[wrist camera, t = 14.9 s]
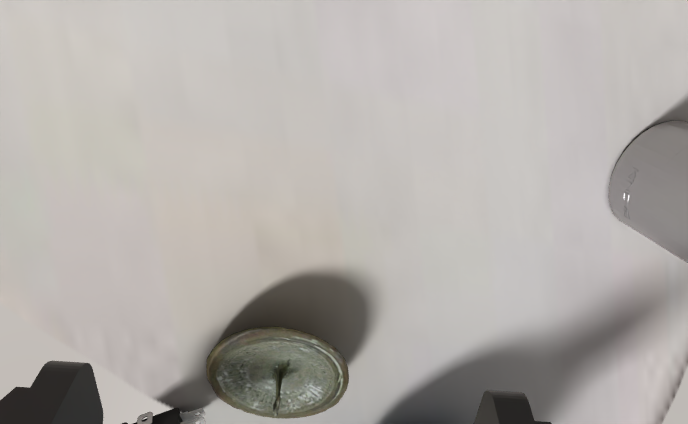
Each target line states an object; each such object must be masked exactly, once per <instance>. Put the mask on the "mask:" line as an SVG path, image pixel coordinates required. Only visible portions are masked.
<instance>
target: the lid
mask: <svg viewBox="0 0 688 424" xmlns="http://www.w3.org/2000/svg"><path fill="white" fill-rule="evenodd" d="M206 368H207V377H208V380H209V382H210V383H211V385H212V387H213V390H214V391H215V393H216V394H217V396H218V397H219V398H220V399H221V400H223V401H224V402H226V403H227V404H229V405H231V406H232V407H234V408H237V409H241V410H243V411H244V412H247V413H252V414H255V415H258V416H263V417H271V418H300V417H307V416H311V415H315V414H318V413H320V412H323V411H326V410H327V409H329V408H331V407H333V406H334V405H336V404H337V403H338V402H339V400H340V399H341V398H342V396H343V394H344V393H345V391H346V389H347V385H348V382H349V374H348V367H347V364H346V362H345V359H344V357H343V356H342V355H341V354H340V353H339V351H338V350H337V349H336V348H335V347H333V346H331V345H330V344H329V343H328V342H326V341H324V340H322V339H320V338H318V337H316V336H314V335H311V334H308V333H305V332H302V331H298V330H293V329H286V328H282V327H259V328H253V329H248V330H244V331H241V332H238V333H235V334H232V335H230V336H229V337H227V338H226V339H224V340H223V341H221V342H220V343H218V344H217V346H216V347H215V348H214V349H213V350H212V351H211V353H210V355H209V356H208V358H207V366H206Z"/></svg>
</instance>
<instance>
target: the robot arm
mask: <svg viewBox="0 0 688 424" xmlns="http://www.w3.org/2000/svg"><path fill="white" fill-rule="evenodd" d="M608 197H609V203H610V207H611V209H612V211H613V214H614V215H615V216H616V217H617V218H618V219H619V221H621V222H623V223H624V224H626V225H628V226H629V227H631V228H632V229H634V230H636V231H637V232H639V233H640V234H642V235H644V236H645V237H647V238H648V239H650V240H652V241H653V242H655V243H656V244H658V245H659V246H661V247H662V248H664V249H666V250H667V251H669V252H671V253H672V254H674V255H675V256H677V257H679V258H680V259H682V260H683V261H685V262H687V263H688V123H687V122H684V121H668V122H663V123H661V124H658V125H656V126H653V127H651V128H650V129H648V130H647V131H645V132H644V133H642V134H641V135H640V136H639V137H637V138H636V139H635V140H634V141H633V142H632V143H631V144H630V145H629V146H628V148H627V149H626V150H625V151H624V152H623V154H622V156H621V157H620V159H619V161H618V162H617V164H616V166H615V169H614V171H613V173H612V176H611V180H610V184H609V196H608ZM0 424H103V408H102V405H101V401H100V396H99V393H98V389H97V385H96V381H95V377H94V373H93V369H92V367H91V365H90V364H89V363H79V362H63V361H50V362H47V363H46V364H45V365H44V366H43V368H42V369H41V371H40V372H39V374H38V376H37V377H36V379H35V381H34V382H33V384H32V386H31V387H30V388H25V387H16V388H14V389H13V390H12V391H11V392H10V393H9V394H7V395H6V396H5V397H4V398H3V399H2V400H0ZM474 424H551V422H539V421H534V418H533V415H532V412H531V408H530V405H529V402H528V399H527V397H526V396H525V394H524V393H520V392H505V391H489V390H487V391H485V393H484V395H483V397H482V400H481V403H480V406H479V409H478V412H477V416H476V419H475V422H474Z"/></svg>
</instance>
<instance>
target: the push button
mask: <svg viewBox="0 0 688 424" xmlns="http://www.w3.org/2000/svg"><path fill="white" fill-rule="evenodd" d="M196 412H200V414H199V415H195V413H196ZM202 416H205V412H204V410H203V408H199V409H196V410H194V411H191V412H188V411H186V412H184V413H180V411H179V409H178V408H174V409H172V410H169V411H166V412H163V413H161V414H158V415H155V416H153V414H152V412H148V413H145V414H143V415H140V416H139V417H138V420H137V422H136V423H133V424H195V422H196V421H200V422H201V423H200V424H206V422H205V420H204V417H202ZM145 417H148V418H147V419H144V420H142V419H143V418H145ZM122 424H128V423H122Z"/></svg>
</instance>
